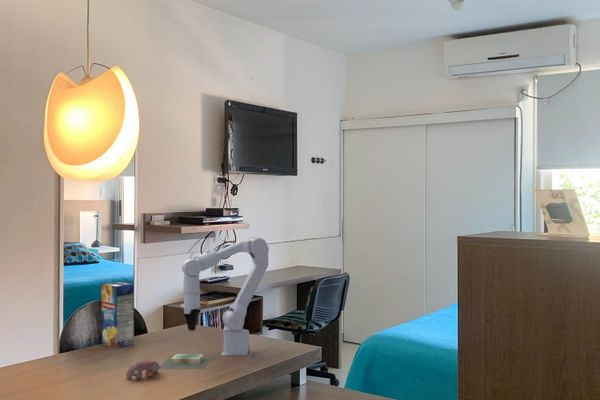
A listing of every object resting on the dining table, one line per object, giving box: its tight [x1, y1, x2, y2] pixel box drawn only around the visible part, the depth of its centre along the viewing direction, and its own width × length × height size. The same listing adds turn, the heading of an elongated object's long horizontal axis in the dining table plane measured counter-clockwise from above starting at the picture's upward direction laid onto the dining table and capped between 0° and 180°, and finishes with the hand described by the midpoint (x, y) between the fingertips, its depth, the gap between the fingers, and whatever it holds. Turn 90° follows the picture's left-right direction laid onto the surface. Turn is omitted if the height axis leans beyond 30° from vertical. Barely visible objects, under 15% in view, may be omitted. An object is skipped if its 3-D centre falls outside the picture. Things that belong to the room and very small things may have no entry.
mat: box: [159, 354, 216, 370], centre depth 201 cm, size 16×18×1 cm
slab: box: [171, 353, 204, 364], centre depth 201 cm, size 10×2×6 cm
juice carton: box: [100, 281, 135, 349], centre depth 230 cm, size 12×8×24 cm, turn 47°
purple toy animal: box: [126, 359, 160, 380], centre depth 184 cm, size 10×5×7 cm, turn 123°
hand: (191, 330), depth 208 cm, fingers closed
